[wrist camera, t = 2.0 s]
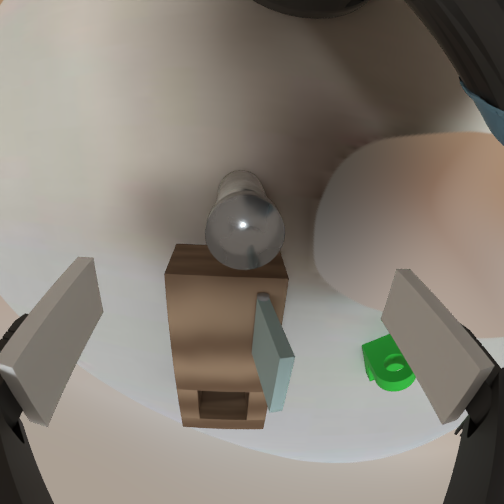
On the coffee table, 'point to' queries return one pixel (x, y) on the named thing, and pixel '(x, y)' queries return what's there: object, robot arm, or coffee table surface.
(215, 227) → the grey cylinder
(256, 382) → the block
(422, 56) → the coffee table surface
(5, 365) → the robot arm
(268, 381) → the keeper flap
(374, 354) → the mechanical part
